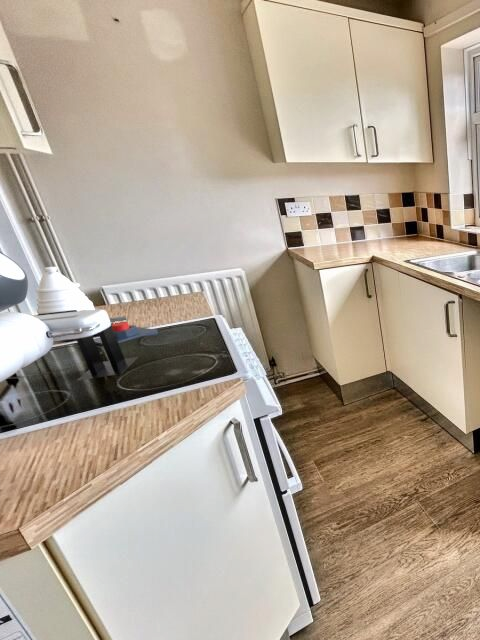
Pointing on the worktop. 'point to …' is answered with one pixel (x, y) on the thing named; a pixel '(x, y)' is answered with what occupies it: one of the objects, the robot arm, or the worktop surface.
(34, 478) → the worktop surface
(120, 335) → the button box
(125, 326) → the button
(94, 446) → the worktop surface
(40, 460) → the worktop surface
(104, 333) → the bracket
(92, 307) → the honey pot
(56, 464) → the worktop surface
